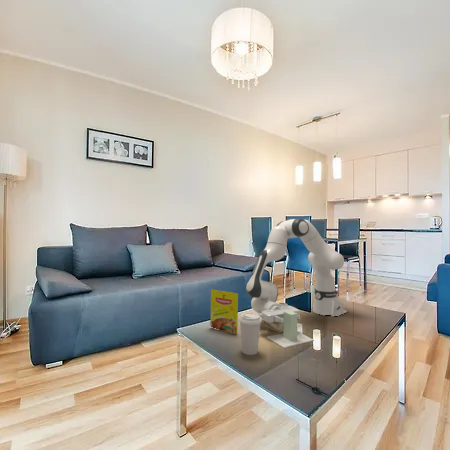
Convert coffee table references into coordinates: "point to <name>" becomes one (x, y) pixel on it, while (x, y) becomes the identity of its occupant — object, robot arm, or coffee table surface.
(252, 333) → the coffee cup
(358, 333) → the coffee table surface
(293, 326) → the sage green pillar
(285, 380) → the coffee table surface
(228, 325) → the food package
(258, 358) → the coffee table surface
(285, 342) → the rubber mat
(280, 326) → the plate
